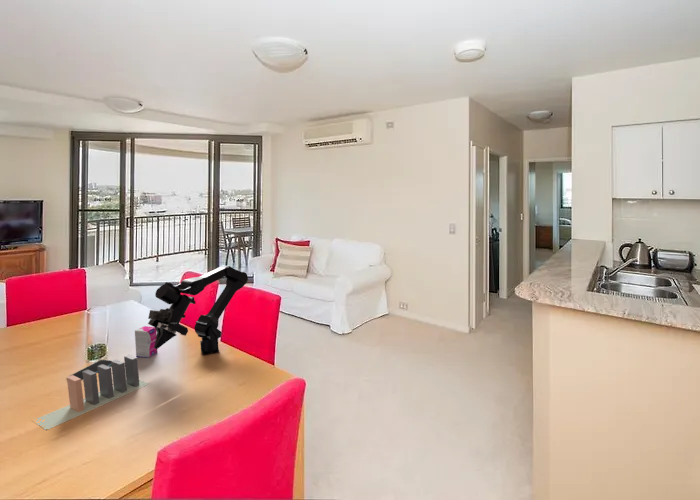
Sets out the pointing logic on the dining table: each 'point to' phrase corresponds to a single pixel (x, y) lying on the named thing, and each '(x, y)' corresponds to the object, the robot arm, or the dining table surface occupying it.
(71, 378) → the domino
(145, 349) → the supplement box
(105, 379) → the domino
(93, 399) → the domino
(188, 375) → the dining table surface
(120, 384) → the domino
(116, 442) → the dining table surface
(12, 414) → the dining table surface
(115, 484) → the dining table surface
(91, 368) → the smartphone
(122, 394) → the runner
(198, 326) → the robot arm
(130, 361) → the domino
